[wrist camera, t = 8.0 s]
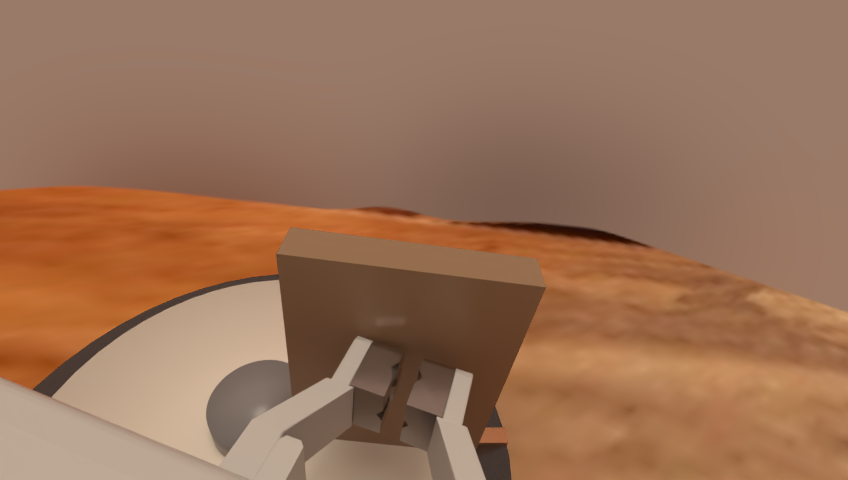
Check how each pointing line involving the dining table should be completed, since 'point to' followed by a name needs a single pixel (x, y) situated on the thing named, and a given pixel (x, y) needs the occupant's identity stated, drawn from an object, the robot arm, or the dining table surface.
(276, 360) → the dial
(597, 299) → the dining table surface
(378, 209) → the dining table surface
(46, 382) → the dial housing
